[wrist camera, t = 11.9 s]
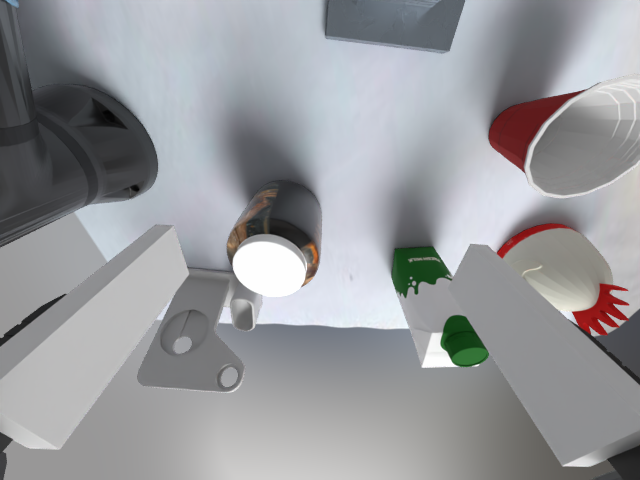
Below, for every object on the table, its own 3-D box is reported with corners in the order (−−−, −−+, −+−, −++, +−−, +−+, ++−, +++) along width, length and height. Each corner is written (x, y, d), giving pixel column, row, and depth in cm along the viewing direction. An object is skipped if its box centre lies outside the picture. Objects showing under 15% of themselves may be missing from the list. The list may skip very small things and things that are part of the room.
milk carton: (439, 241, 41) (518, 344, 24) (430, 279, 46) (491, 386, 29) (390, 244, 42) (434, 346, 25) (386, 281, 46) (421, 387, 30)
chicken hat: (479, 280, 46) (538, 350, 33) (516, 220, 39) (609, 281, 26) (546, 285, 46) (629, 356, 34) (595, 226, 39) (725, 289, 26)
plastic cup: (462, 107, 30) (532, 114, 20) (557, 62, 27) (695, 43, 17) (471, 181, 35) (530, 216, 25) (551, 149, 32) (655, 174, 22)
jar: (325, 183, 36) (326, 232, 23) (318, 245, 42) (316, 310, 29) (250, 176, 35) (208, 221, 23) (254, 239, 41) (223, 302, 29)
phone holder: (263, 275, 46) (234, 363, 31) (264, 308, 52) (239, 397, 37) (176, 266, 45) (101, 352, 30) (186, 301, 51) (127, 389, 36)
